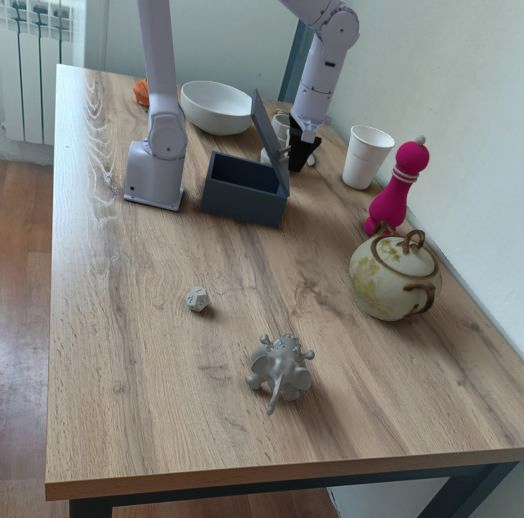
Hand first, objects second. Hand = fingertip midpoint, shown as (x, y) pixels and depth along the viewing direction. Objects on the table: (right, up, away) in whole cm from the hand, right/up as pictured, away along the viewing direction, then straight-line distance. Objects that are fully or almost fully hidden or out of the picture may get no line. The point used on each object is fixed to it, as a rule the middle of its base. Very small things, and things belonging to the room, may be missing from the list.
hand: (293, 164), depth 96 cm
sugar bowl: (+14, -26, -6) cm, 30 cm away
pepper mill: (+18, -10, +12) cm, 23 cm away
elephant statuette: (-4, -39, -26) cm, 47 cm away
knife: (+3, +17, +34) cm, 38 cm away
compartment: (-10, -6, +6) cm, 13 cm away
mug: (-2, +6, +20) cm, 21 cm away
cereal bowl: (-17, +17, +27) cm, 36 cm away
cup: (+15, +4, +25) cm, 29 cm away
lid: (-4, +3, -2) cm, 6 cm away
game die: (-15, -27, -18) cm, 36 cm away
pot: (-31, +22, +26) cm, 46 cm away
